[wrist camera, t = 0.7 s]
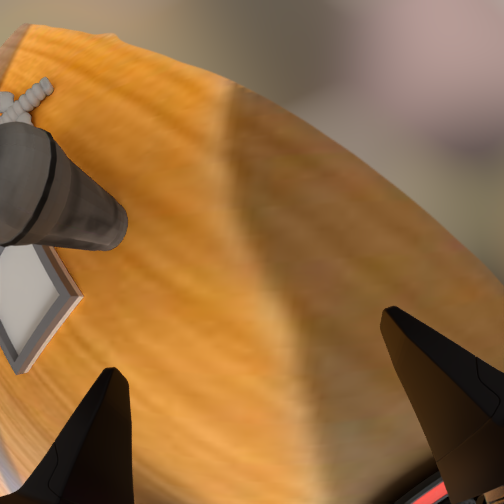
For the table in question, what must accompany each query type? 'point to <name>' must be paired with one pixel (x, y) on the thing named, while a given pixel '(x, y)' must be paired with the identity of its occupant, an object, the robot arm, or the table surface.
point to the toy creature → (23, 102)
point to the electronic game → (429, 493)
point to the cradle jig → (32, 301)
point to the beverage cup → (52, 196)
